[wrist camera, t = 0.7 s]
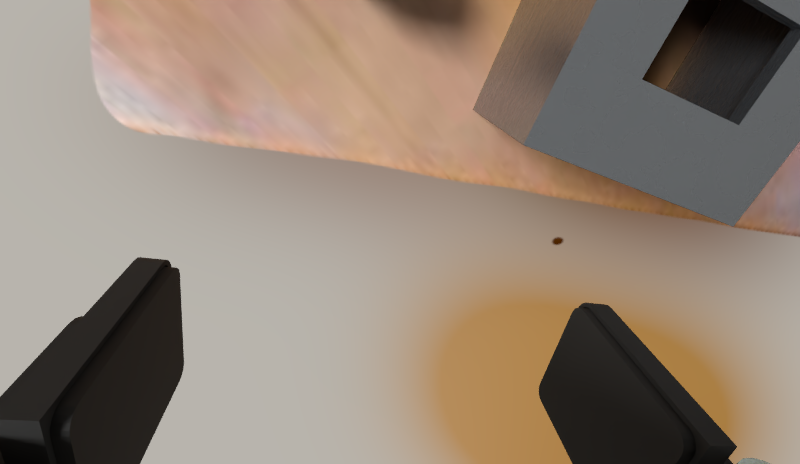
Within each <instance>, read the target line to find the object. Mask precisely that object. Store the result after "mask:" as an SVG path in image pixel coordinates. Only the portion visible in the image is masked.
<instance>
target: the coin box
mask: <svg viewBox="0 0 800 464" xmlns="http://www.w3.org/2000/svg"><path fill="white" fill-rule="evenodd" d="M687 2H688V0H521V3H520V5H519V7H518V9H517V12H516V14H515V16H514V18H513V21H512V23H511V25H510V27H509V30H508V32H507V34H506V36H505V39H504V41H503V43H502V45H501V48H500V50H499V52H498V54H497V57H496V59H495V61H494V63H493V66H492V68H491V70H490V73H489V75H488V77H487V79H486V82H485V84H484V86H483V88H482V91H481V93H480V95H479V97H478V100H477V102H476V104H475V106H474V109H473V110H474V111H476V112H477V113H479V114H480V115H481V116H483V117H484V118H486V119H487V120H488V121H490V122H491V123H493V124H494V125H496V126H497V127H498V128H500V129H501V130H503V131H504V132H506V133H507V134H508V135H510V136H511V137H513V138H514V139H516V140H517V141H518V142H520V143H521V144H523V145H525V146H527V147H530V148H532V149H535V150H538V151H540V152H543V153H545V154H548V155H550V156H553V157H556V158H558V159H561V160H563V161H566V162H568V163H571V164H574V165H576V166H579V167H581V168H584V169H586V170H589V171H592V172H594V173H597V174H599V175H602V176H604V177H607V178H610V179H612V180H615V181H617V182H620V183H622V184H625V185H627V186H630V187H633V188H635V189H638V190H640V191H643V192H645V193H648V194H651V195H653V196H656V197H658V198H661V199H663V200H666V201H669V202H671V203H674V204H676V205H679V206H681V207H684V208H687V209H689V210H692V211H694V212H697V213H699V214H702V215H705V216H707V217H710V218H712V219H715V220H717V221H720V222H723V223H725V224H728V225H730V226H734V225H735V224H736V222H737V221H738V220H739V219H740V217H741V216H742V215H743V213H744V212H745V211H746V210H747V208H748V207H749V206H750V205H751V203H752V202H753V201H754V199H755V198H756V197H757V196H758V194H759V193H760V192H761V190H762V189H763V188H764V187H765V185H766V184H767V183H768V181H769V180H770V179H771V178H772V176H773V175H774V174H775V172H776V171H777V170H778V169H779V167H780V166H781V165H782V163H783V162H784V161H785V160H786V158H787V157H788V156H789V154H790V153H791V152H792V151H793V149H794V148H795V147H796V145H797V144H798V143H799V142H800V0H721V1H720V3H719V4H718V6H717V7H716V9H715V11H714V12H713V14H712V16H711V17H710V19H709V20H708V22H707V24H706V25H705V27H704V29H703V30H702V32H701V33H700V35H699V37H698V38H697V40H696V42H695V43H694V45H693V46H692V48H691V50H690V51H689V53H688V55H687V56H686V58H685V59H684V61H683V63H682V64H681V66H680V68H679V69H678V71H677V72H676V74H675V76H674V77H673V79H672V80H671V82H670V84H669V85H668V87H667V89H666V90H663V89H661V88H659V87H657V86H655V85H653V84H651V83H649V82H647V81H644V80H642V78H643V77H644V75H645V73H646V72H647V70H648V68H649V67H650V65H651V63H652V61H653V60H654V58H655V56H656V55H657V53H658V51H659V50H660V48H661V46H662V44H663V43H664V41H665V39H666V38H667V36H668V34H669V33H670V31H671V29H672V27H673V26H674V24H675V22H676V21H677V19H678V17H679V16H680V14H681V12H682V10H683V9H684V7H685V5H686V4H687Z"/></svg>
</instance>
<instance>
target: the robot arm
mask: <svg viewBox="0 0 800 464" xmlns="http://www.w3.org/2000/svg"><path fill="white" fill-rule="evenodd" d="M180 291H181V290H180V273H179V269H178V268H172V267H171V264H170V262H169V261H168V260H161V259H160V260H159V259H151V258H141V257H140V258H137V259H136V260H134V261H133V263H132V264H131V265H130V266H129V267H128V268H127V269H126V270H125V271H124V272H123V274H122V275H121V276H120V277H119V278H118V279H117V280H116V281H115V282H114V283H113V285H112V286H111V287H110V288H109V289H108V290H107V291H106V292H105V293H104V295H103V296H102V297H101V298H100V299H99V300H98V301H97V302H96V303H95V304H94V305H93V307H92V308H91V309H90V310H89V311H88V312H87V313H86V314H85V315H84V316H83V317H82V316H81V317H78V318H75V319H74V320H73V321H72V322H70V323H69V324H68V325H67V326H66V327H65V328H64V329H63V330H62V332H61V333H60V334H59V335H58V336H57V337H56V338H55V339H54V340H53V341H52V342H51V343H50V344H49V346H48V347H47V348H46V349H45V350H44V351H43V352H42V353H41V354H40V355H39V356H38V357H37V358H36V359H35V360H34V361H33V363H32V364H31V365H30V366H29V367H28V368H27V369H26V370H25V371H24V372H23V373H22V374H21V375H20V376H19V377H18V379H17V380H16V381H15V382H14V383H13V384H12V385H11V386H10V387H9V388H8V389H7V390H6V391H5V392H4V394H3V395H2V396H1V397H0V464H140V462H141V460H142V458H143V456H144V454H145V452H146V450H147V448H148V446H149V443H150V441H151V439H152V437H153V435H154V433H155V431H156V429H157V427H158V425H159V422H160V420H161V418H162V416H163V414H164V412H165V410H166V408H167V406H168V404H169V402H170V400H171V398H172V395H173V393H174V391H175V389H176V387H177V385H178V383H179V381H180V378H181V375H182V372H183V366H184V357H183V334H182V312H181V292H180ZM539 396H540V399H541V402H542V404H543V406H544V408H545V409H546V411H547V414H548V415H549V417H550V420H551V421H552V423H553V426H554V428H555V429H556V431H557V433H558V435H559V437H560V439H561V441H562V443H563V445H564V447H565V449H566V451H567V453H568V455H569V457H570V459H571V461H572V463H573V464H733V463H732V462H731V461H730V460H729V459H728V458H729V456H730V455H731V454H732V453H733V451H734V450H735V449H736V447H737V446H736V445H735V444H734V443H733V442H732V441H731V440H730V438H729V437H728V436H727V435H726V434H725V433H724V432H723V431H722V430H721V428H720V427H719V426H718V425H717V424H716V423H715V422H714V421H713V420H712V419H711V417H710V416H709V415H708V414H707V413H706V412H705V411H704V410H703V409H702V408H701V407H700V405H699V404H698V403H697V402H696V401H695V400H694V399H693V398H692V397H691V396H690V394H689V393H688V392H687V391H686V390H685V389H684V388H683V387H682V386H681V385H680V383H679V382H678V381H677V380H676V379H675V378H674V377H673V376H672V375H671V373H669V371H668V370H667V369H666V368H665V367H664V366H663V365H662V364H661V362H659V360H658V359H657V358H656V357H655V356H654V355H653V354H652V352H651V351H649V349H648V348H647V347H646V346H645V345H644V344H643V343H642V341H641V340H640V339H639V338H638V337H637V336H636V335H635V334H634V333H633V332H632V331H631V329H629V327H628V326H627V325H626V324H625V323H624V322H623V321H622V319H621V318H620V317H619V316H618V315H617V314H616V313H615V312H614V311H613V310H612V308H610V307H609V306H608V305H603V304H593V303H583V304H581V305H580V306H579V308H576V309H575V310H574V311H573V312H572V314H571V316H570V319H569V321H568V323H567V326H566V328H565V330H564V332H563V334H562V336H561V339H560V341H559V343H558V345H557V347H556V350H555V352H554V354H553V356H552V359H551V361H550V363H549V365H548V367H547V370H546V372H545V374H544V376H543V379H542V381H541V383H540V386H539ZM737 464H770V463H768V462H765V461H763V460H758V459H754V458H746V459H742V460H741V461H739V462H738V463H737Z"/></svg>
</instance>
